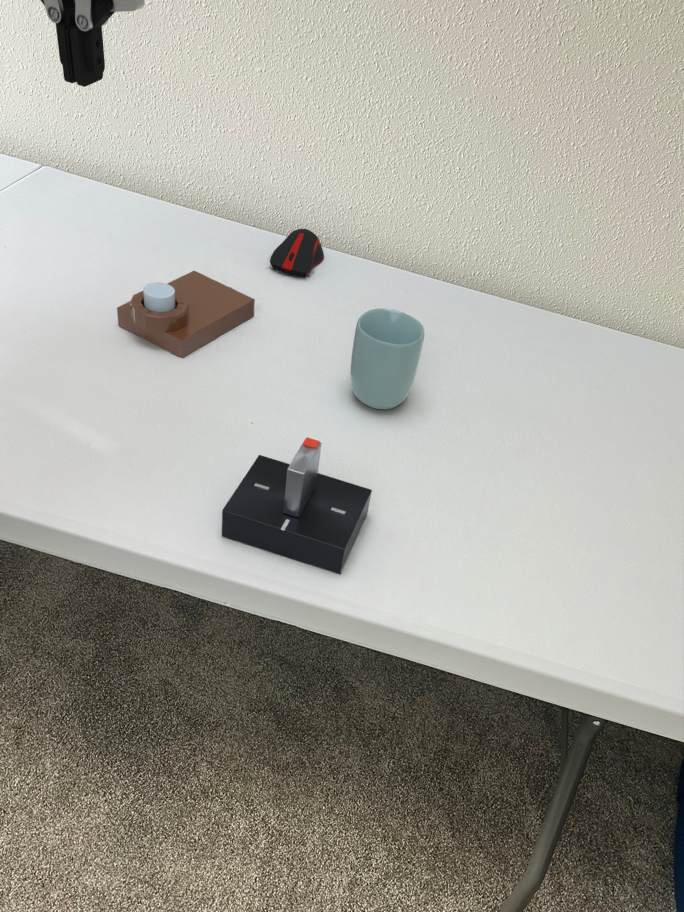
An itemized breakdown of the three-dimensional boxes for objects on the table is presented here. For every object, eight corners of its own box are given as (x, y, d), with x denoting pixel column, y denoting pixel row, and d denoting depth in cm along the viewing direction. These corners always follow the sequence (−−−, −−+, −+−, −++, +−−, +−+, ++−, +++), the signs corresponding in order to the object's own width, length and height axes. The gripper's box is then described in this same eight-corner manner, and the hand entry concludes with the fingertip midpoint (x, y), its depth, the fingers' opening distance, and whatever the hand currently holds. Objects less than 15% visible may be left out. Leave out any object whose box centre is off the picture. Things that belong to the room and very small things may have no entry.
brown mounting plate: (174, 362, 93) (173, 329, 90) (110, 329, 95) (107, 295, 92) (254, 316, 103) (255, 284, 100) (194, 287, 106) (193, 255, 103)
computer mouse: (264, 271, 112) (266, 244, 109) (289, 241, 120) (291, 215, 117) (306, 283, 112) (309, 256, 109) (328, 252, 120) (331, 227, 117)
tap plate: (221, 537, 75) (221, 509, 72) (258, 479, 81) (259, 452, 79) (339, 575, 74) (344, 548, 71) (367, 514, 81) (372, 487, 78)
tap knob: (298, 518, 73) (304, 472, 69) (282, 513, 73) (287, 466, 69) (316, 485, 77) (322, 440, 73) (300, 481, 77) (306, 435, 73)
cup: (419, 395, 97) (435, 324, 90) (392, 426, 92) (408, 353, 85) (364, 372, 99) (376, 300, 92) (334, 401, 93) (345, 327, 86)
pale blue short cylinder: (161, 316, 92) (160, 301, 90) (137, 305, 93) (136, 289, 91) (181, 306, 94) (181, 290, 93) (158, 294, 95) (157, 279, 94)
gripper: (-93, -264, 49) (-30, 66, 61) (131, -205, 48) (147, 117, 61) (-16, -255, 54) (27, 47, 67) (186, -202, 53) (190, 93, 66)
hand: (84, 79), depth 64 cm, fingers closed
